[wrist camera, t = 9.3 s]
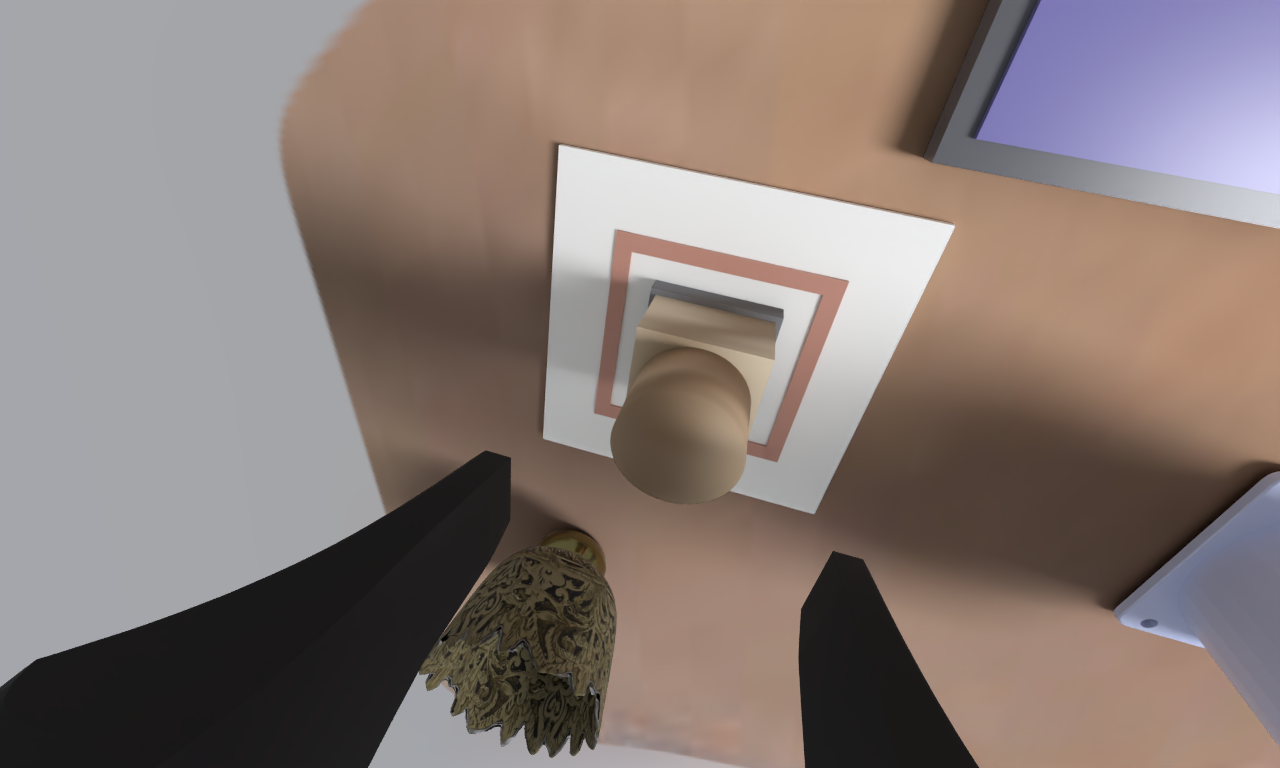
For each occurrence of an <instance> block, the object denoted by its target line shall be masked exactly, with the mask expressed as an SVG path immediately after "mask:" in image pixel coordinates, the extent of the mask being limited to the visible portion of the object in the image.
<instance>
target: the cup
mask: <svg viewBox="0 0 1280 768" xmlns="http://www.w3.org/2000/svg"><path fill="white" fill-rule="evenodd" d="M605 572H606V563H605V556H604V553H603V551H602V549H601V547H600V546H599V545H598V544H597V543H596V542H595V541H594V540H593V539H592V538H590V537H589V536H587V535H585V534H583V533H581V532H578V531H574V530H568V529H563V530H557V531H554V532H552V533H550V534H549V535H547V536H546V537H544V538H543V539H542V540H541V541H540V542H539V544H538V546H537V547H533V548H528V549H525V550H522V551H520V552H517V553H515V554H513V555H511V556H510V557H509V558H507V559H506V560H504V561H503V562H501V563H500V564H499V565H498V566H497V567H496V568H495V569H494V570H493V571H492V572H491V573H490V574H489V575H488V577H487V578H486V579H485V580H484V581H483V582H482V583H481V585H480V586H479V587H478V588H477V590H476V591H475V592H474V593H473V595H472V596H471V597H470V599H469V600H468V601H467V602H466V604H465V605H464V606H463V608H462V609H461V610H460V612H459V613H458V614H457V616H456V617H455V618H454V619H453V621H452V622H451V623H450V625H449V626H448V627H447V629H446V630H445V631H444V633H443V634H442V636H441V637H440V638H439V640H438V641H437V642H436V644H435V645H434V647H433V648H432V650H431V652H430V653H429V655H428V657H427V658H426V660H425V661H424V663H423V665H422V666H421V668H420V670H419V674H420V675H425V674H429V676H428V678H427V680H426V688H427V691H430V690H432V689H434V688H436V687H438V686H439V685H440V683H441V682H442V681H444V680H447V679H445V678H446V677H447V678H448V680H447V681H448V687H452V688H453V689H454V687H455V689H456V691H455V699H454V702H453V704H452V707H451V712H450V713H451V715H452V716H456V715H458V714H460V713H462V712H463V711H464V710H465V711H466V723H467V725H466V728H467V730H468V732H469V733H470V734H478V733H481V732H483V731H488V730H490V729H492V728H494V727H501V725H502V727H501V731H500V737H501V738H500V741H501V746H502V747H503V746H505V745H507V744H508V743H509V742H510V741H511V740H512V739H514V738H515V736H516V734H517V733H518V731H519V730H520V729H521V728H522V726H523V725H525V728H524V730H525V739H526V742H527V748H528V751H529V753H530V754H531V755H534V754H536V753H537V752H538V751H539V749H540V748H541V746H542V745H545V746H546V747H547V749H548V752H549V757H551V758H553V757H554V756H556V755H557V754H558V753H559V752H560V751H561V749H562V748H563V746H564V745H565V743H566V742H567V740H568V737H569V736H570V735H571V739H570V754H571V755H572V756H575V755H576V754H577V753H578V752H579V751H580V748H581V745H582V743H583V740H584V737H585V738H586V743H587V744H588V746H589V748H590V749H592V750H593V749H594V748H595V746H596V743H597V740H598V736H599V731H600V727H601V721H602V714H603V709H604V703H605V698H606V692H607V687H608V681H609V675H610V669H611V663H612V657H613V651H614V644H615V635H616V606H615V600H614V596H613V593H612V590H611V588H610V586H609V584H608V582H607V581H606V579H605V577H604V575H605ZM453 686H454V687H453ZM455 689H454V690H455ZM495 724H501V725H495ZM493 725H494V726H493ZM491 726H492V727H491Z"/></svg>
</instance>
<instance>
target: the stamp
mask: <svg viewBox="0 0 1280 768" xmlns="http://www.w3.org/2000/svg"><path fill="white" fill-rule="evenodd" d="M783 319H784V309H781V308H776V307H772V306H768V305H763V304H759V303H755V302H750V301H746V300H742V299H737V298H733V297H729V296H724V295H720V294H716V293H711V292H707V291H703V290H698V289H694V288H690V287H685V286H681V285H677V284H672V283H668V282H664V281H659V280H656V281H655V282H654V284H653V285H652V287H651V291H650V297H649V303H648V309H647V311H646V313H645V314H644V316H643V318H642V319H641V321H640V323H639V325H638V326H637V332H636V338H635V344H634V350H633V357H632V363H631V369H630V375H629V382H628V388H627V394H626V400H625V402H624V404H623V406H622V408H621V410H620V412H619V414H618V416H617V418H616V421H615V423H614V425H613V428H612V431H611V437H610V445H611V452H612V456H613V458H614V461H615V463H616V465H617V466H618V468H619V470H620V471H621V472H622V474H623V475H624V476H625V477H626V478H627V479H628V481H630V482H631V483H632V484H633V485H634V486H635V487H637V488H638V489H640V490H641V491H643V492H645V493H646V494H648V495H650V496H653V497H655V498H657V499H660V500H663V501H667V502H671V503H678V504H699V503H704V502H708V501H712V500H714V499H717V498H719V497H721V496H723V495H724V494H726V493H727V492H729V491H730V490H731V489H732V488H733V487H734V486H735V485H736V484H737V483H738V481H739V480H740V478H741V476H742V474H743V472H744V468H745V464H746V453H747V442H748V438H749V435H750V432H751V429H752V426H753V423H754V420H755V417H756V414H757V411H758V408H759V405H760V402H761V400H762V397H763V394H764V391H765V388H766V385H767V382H768V379H769V376H770V373H771V370H772V367H773V364H774V362H775V343H776V340H777V337H778V334H779V331H780V328H781V325H782V322H783Z"/></svg>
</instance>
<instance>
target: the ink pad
mask: <svg viewBox="0 0 1280 768" xmlns="http://www.w3.org/2000/svg"><path fill="white" fill-rule="evenodd" d="M923 158H924V159H926V160H928V161H930V162H932V163H937V164H942V165H948V166H953V167H958V168H963V169H969V170H974V171H979V172H984V173H990V174H995V175H1000V176H1005V177H1011V178H1016V179H1021V180H1026V181H1032V182H1037V183H1042V184H1047V185H1053V186H1058V187H1063V188H1068V189H1074V190H1079V191H1084V192H1089V193H1095V194H1100V195H1105V196H1111V197H1116V198H1121V199H1126V200H1132V201H1137V202H1142V203H1147V204H1153V205H1158V206H1163V207H1168V208H1174V209H1179V210H1184V211H1189V212H1195V213H1200V214H1205V215H1210V216H1216V217H1221V218H1226V219H1231V220H1237V221H1242V222H1247V223H1252V224H1258V225H1263V226H1268V227H1273V228H1279V229H1280V0H989V2H988V5H987V7H986V10H985V12H984V14H983V17H982V19H981V21H980V24H979V26H978V28H977V31H976V33H975V36H974V38H973V40H972V43H971V45H970V47H969V50H968V52H967V54H966V57H965V59H964V62H963V64H962V66H961V69H960V71H959V73H958V76H957V78H956V80H955V83H954V85H953V88H952V90H951V92H950V95H949V97H948V99H947V102H946V104H945V107H944V109H943V111H942V114H941V116H940V118H939V121H938V123H937V125H936V128H935V130H934V133H933V135H932V137H931V140H930V142H929V144H928V147H927V149H926V151H925V154H924V156H923Z"/></svg>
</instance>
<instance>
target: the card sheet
mask: <svg viewBox="0 0 1280 768" xmlns="http://www.w3.org/2000/svg"><path fill="white" fill-rule="evenodd" d="M954 228H955V225H954V224H953V223H949V222H944V221H939V220H934V219H929V218H925V217H920V216H915V215H910V214H905V213H900V212H895V211H890V210H885V209H880V208H875V207H870V206H866V205H861V204H856V203H851V202H846V201H841V200H836V199H831V198H826V197H821V196H816V195H811V194H806V193H802V192H797V191H792V190H787V189H782V188H777V187H772V186H767V185H762V184H757V183H752V182H747V181H743V180H738V179H733V178H728V177H723V176H718V175H713V174H708V173H703V172H698V171H693V170H688V169H684V168H679V167H674V166H669V165H664V164H659V163H654V162H649V161H644V160H639V159H634V158H629V157H624V156H620V155H615V154H610V153H605V152H600V151H595V150H590V149H585V148H580V147H575V146H570V145H565V144H560V145H559V154H558V173H557V191H556V209H555V228H554V246H553V264H552V283H551V301H550V319H549V338H548V356H547V375H546V393H545V411H544V430H543V439H546V440H549V441H553V442H556V443H560V444H564V445H567V446H571V447H574V448H578V449H581V450H585V451H589V452H592V453H596V454H599V455H603V456H607V457H610V458H613V456H612V452H611V445H610V437H611V431H612V428H613V425H614V423H615V421H616V418H617V416H618V414H619V412H620V410H621V408H622V406H623V404H624V402H625V400H626V394H627V388H628V382H629V375H630V369H631V363H632V357H633V350H634V344H635V338H636V332H637V326H638V325H639V323H640V321H641V319H642V318H643V316H644V314H645V313H646V311H647V309H648V303H649V297H650V291H651V287H652V285H653V284H654V282H655V281H656V280H659V281H664V282H668V283H672V284H677V285H681V286H685V287H690V288H694V289H698V290H703V291H707V292H711V293H716V294H720V295H724V296H729V297H733V298H737V299H742V300H746V301H750V302H755V303H759V304H763V305H768V306H772V307H776V308H781V309H784V319H783V322H782V325H781V328H780V331H779V334H778V337H777V340H776V343H775V362H774V364H773V367H772V370H771V373H770V376H769V379H768V382H767V385H766V388H765V391H764V394H763V397H762V400H761V402H760V405H759V408H758V411H757V414H756V417H755V420H754V423H753V426H752V429H751V432H750V435H749V438H748V442H747V453H746V464H745V468H744V472H743V474H742V476H741V478H740V480H739V481H738V483H737V484H736V485H735V486H734V487H733V488H732V489H731V490H730V491H732V492H736V493H739V494H743V495H746V496H750V497H753V498H757V499H761V500H764V501H768V502H771V503H775V504H779V505H782V506H786V507H789V508H793V509H796V510H800V511H804V512H807V513H811V514H815V512H816V510H817V508H818V506H819V504H820V502H821V500H822V498H823V495H824V493H825V491H826V489H827V487H828V485H829V483H830V481H831V479H832V477H833V475H834V473H835V471H836V469H837V467H838V465H839V463H840V461H841V459H842V457H843V455H844V453H845V451H846V449H847V446H848V444H849V442H850V440H851V438H852V436H853V434H854V432H855V430H856V428H857V426H858V424H859V422H860V420H861V418H862V416H863V414H864V412H865V410H866V408H867V406H868V404H869V402H870V400H871V397H872V395H873V393H874V391H875V389H876V387H877V385H878V383H879V381H880V379H881V377H882V375H883V373H884V371H885V369H886V367H887V365H888V363H889V361H890V359H891V357H892V355H893V353H894V351H895V348H896V346H897V344H898V342H899V340H900V338H901V336H902V334H903V332H904V330H905V328H906V326H907V324H908V322H909V320H910V318H911V316H912V314H913V312H914V310H915V308H916V306H917V304H918V301H919V299H920V297H921V295H922V293H923V291H924V289H925V287H926V285H927V283H928V281H929V279H930V277H931V275H932V273H933V271H934V269H935V267H936V265H937V263H938V261H939V259H940V257H941V255H942V252H943V250H944V248H945V246H946V244H947V242H948V240H949V238H950V236H951V234H952V232H953V230H954Z"/></svg>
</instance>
